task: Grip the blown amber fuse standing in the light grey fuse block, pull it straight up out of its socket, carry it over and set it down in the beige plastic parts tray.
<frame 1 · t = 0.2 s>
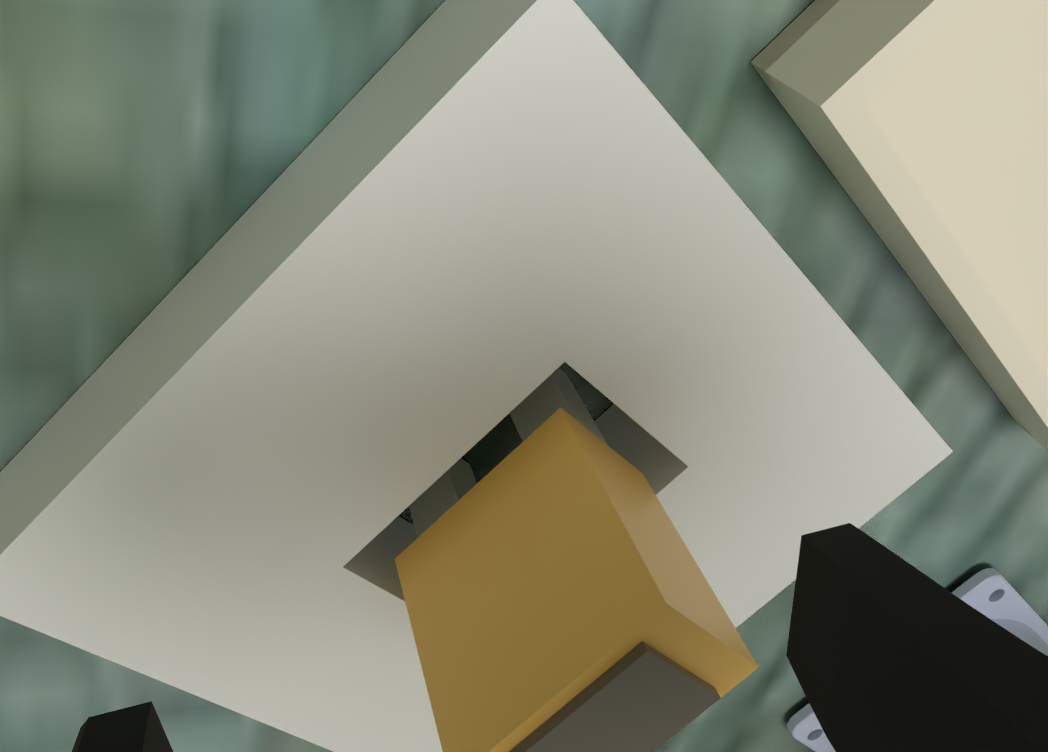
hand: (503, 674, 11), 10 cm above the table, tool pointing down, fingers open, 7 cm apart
fuse: (536, 553, 19), in the fuse block
fuse block: (483, 426, 22), on the table
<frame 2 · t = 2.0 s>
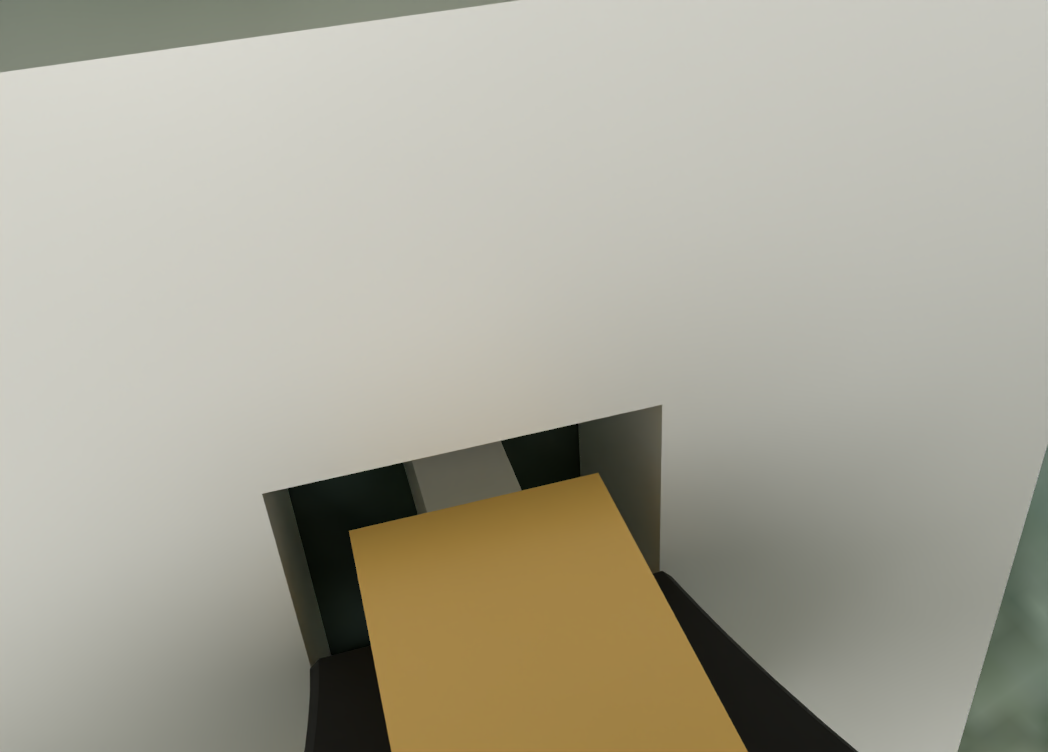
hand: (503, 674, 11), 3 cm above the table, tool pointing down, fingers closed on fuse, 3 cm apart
fuse: (519, 725, 10), in the fuse block, touching gripper
fuse block: (441, 484, 14), on the table
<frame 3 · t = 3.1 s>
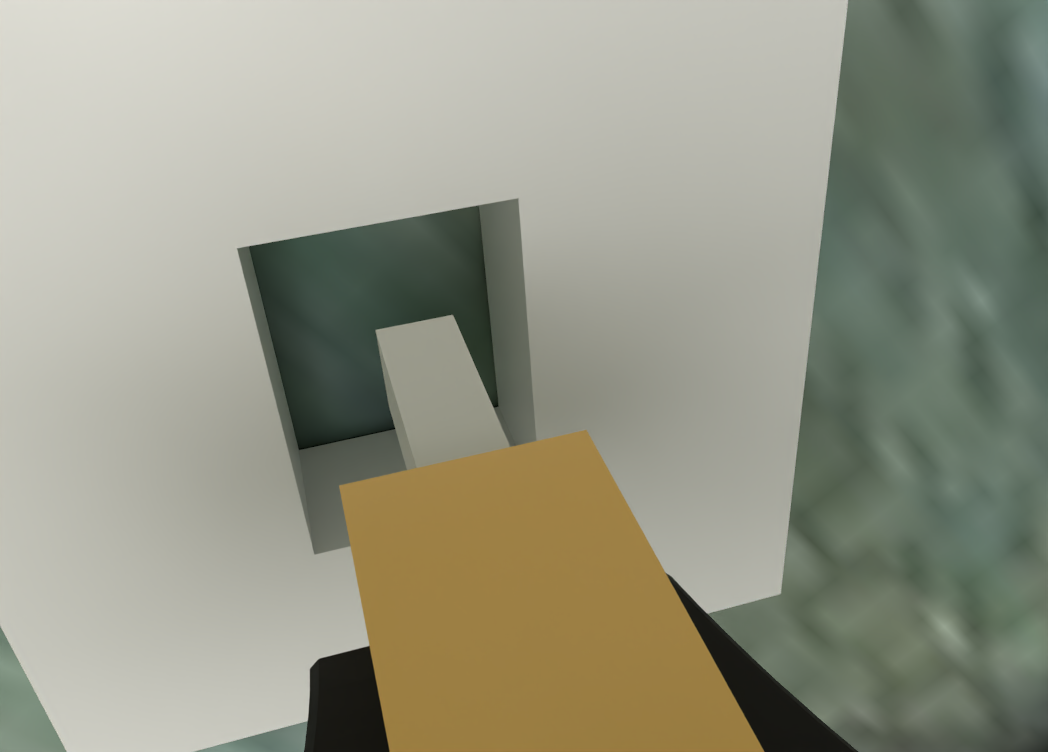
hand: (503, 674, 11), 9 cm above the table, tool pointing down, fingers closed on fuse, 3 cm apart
fuse: (509, 680, 11), point 9 cm above the table, touching gripper
fuse block: (379, 300, 18), on the table
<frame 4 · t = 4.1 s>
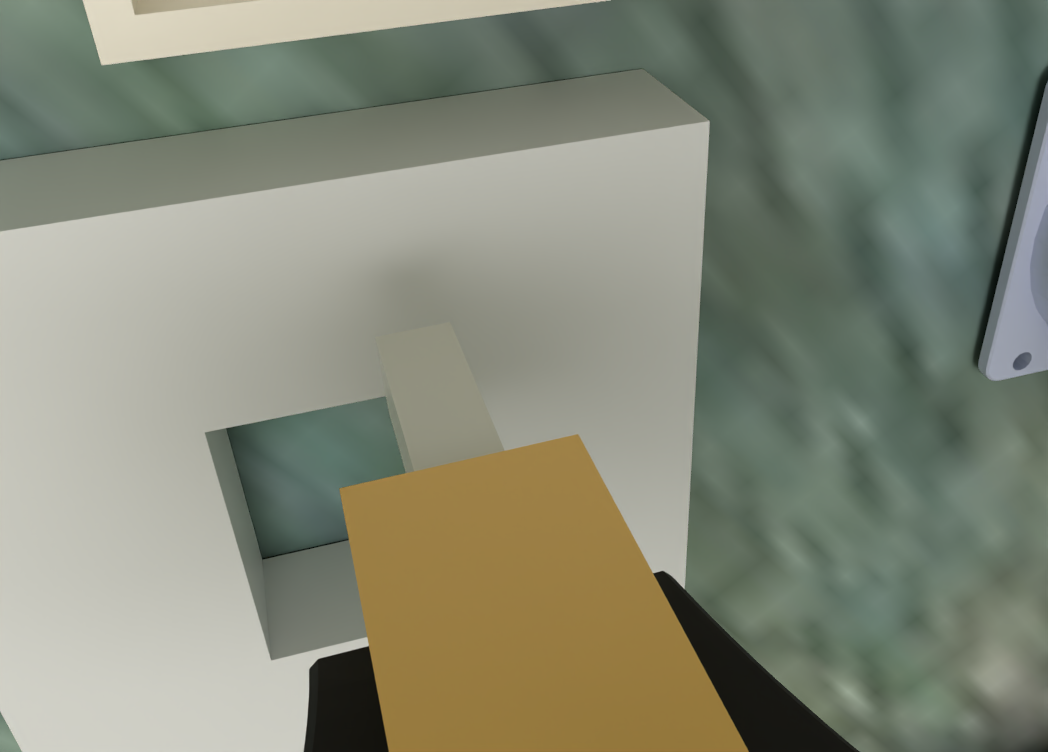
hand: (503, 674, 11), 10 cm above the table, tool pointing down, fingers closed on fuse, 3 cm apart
fuse: (504, 676, 11), point 10 cm above the table, touching gripper
fuse block: (330, 440, 21), on the table
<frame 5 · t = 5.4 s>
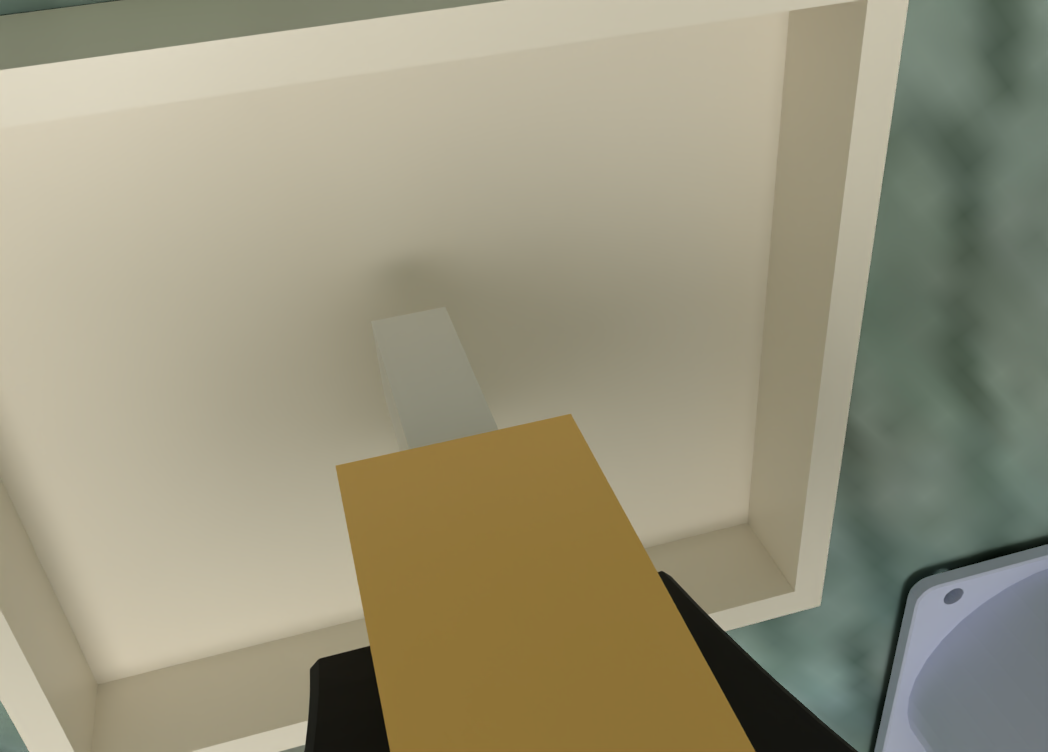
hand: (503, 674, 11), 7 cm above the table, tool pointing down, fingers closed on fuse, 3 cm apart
fuse: (497, 652, 11), point 7 cm above the table, touching gripper
parts tray: (399, 348, 17), on the table
when the fingers open (6 cm above the table, at t = 6.4 s): fuse stays where it is, resting on parts tray.
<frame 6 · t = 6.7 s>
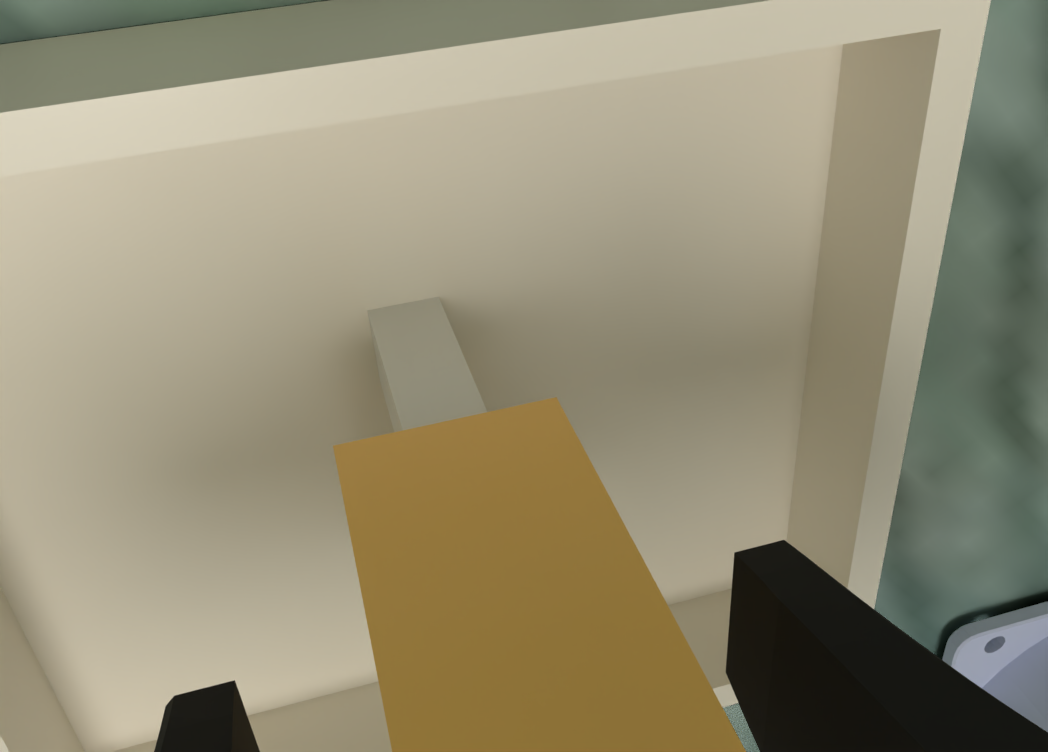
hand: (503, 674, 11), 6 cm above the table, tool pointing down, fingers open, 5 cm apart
fuse: (486, 623, 12), in the parts tray, point 5 cm above the table
parts tray: (414, 399, 15), on the table
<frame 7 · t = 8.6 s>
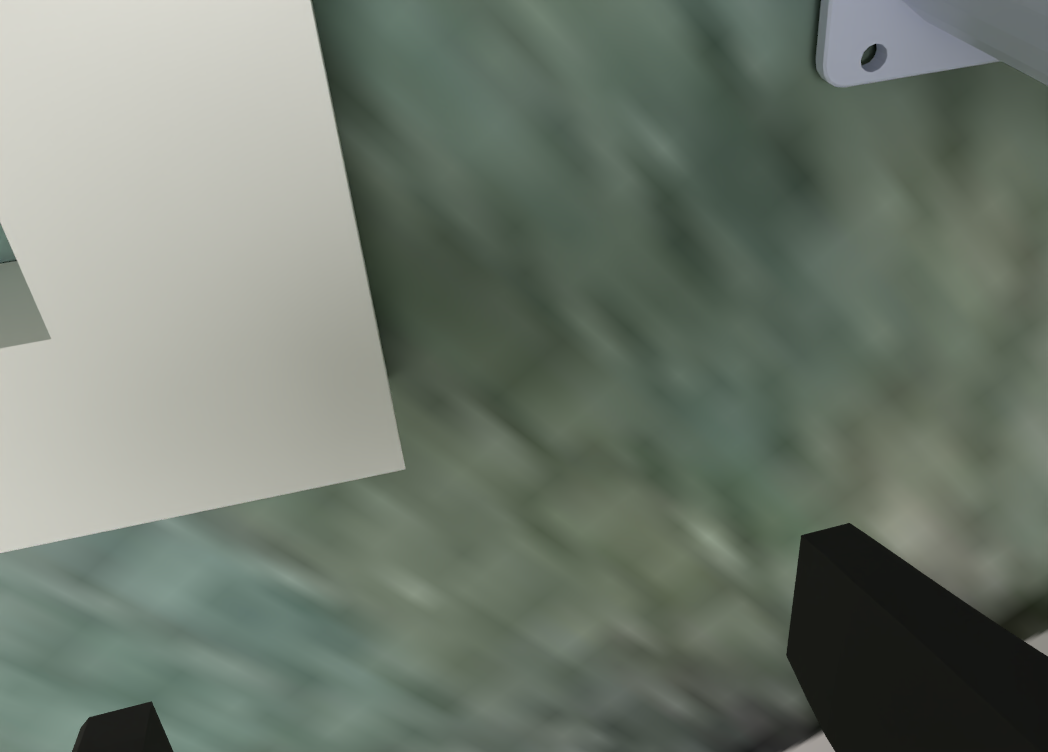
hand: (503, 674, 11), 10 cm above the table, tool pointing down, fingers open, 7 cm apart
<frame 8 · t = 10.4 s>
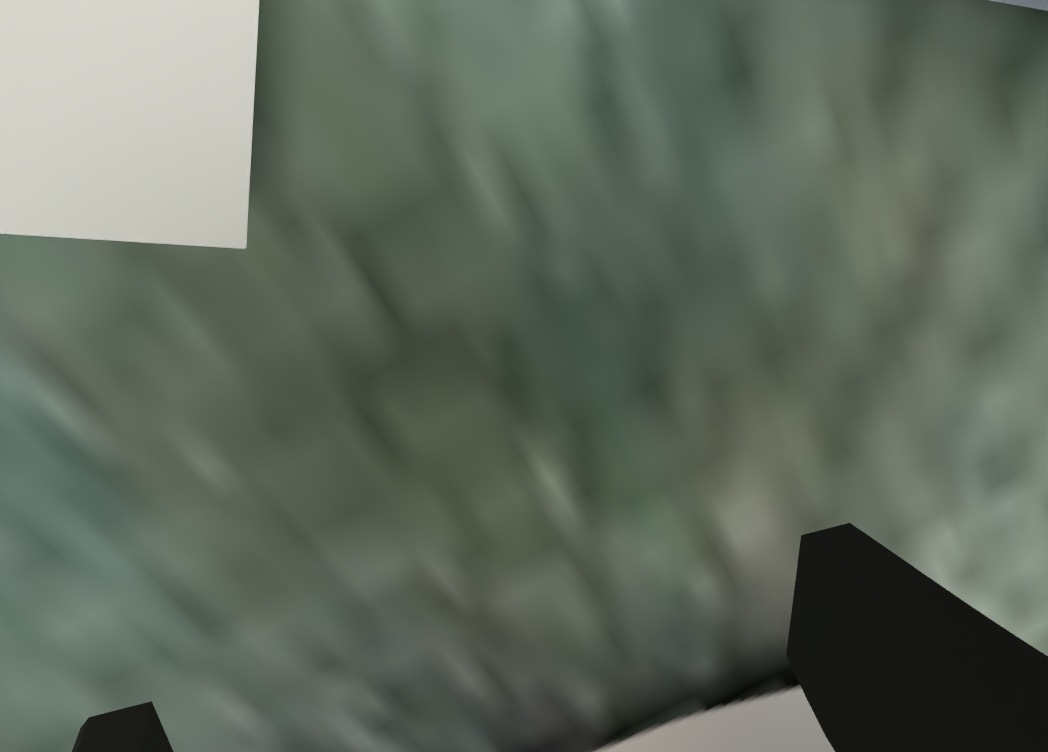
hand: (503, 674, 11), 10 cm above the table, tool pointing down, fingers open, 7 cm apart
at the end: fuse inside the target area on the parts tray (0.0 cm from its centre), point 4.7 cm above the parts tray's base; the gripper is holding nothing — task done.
